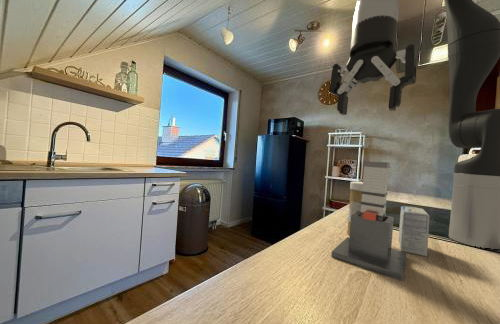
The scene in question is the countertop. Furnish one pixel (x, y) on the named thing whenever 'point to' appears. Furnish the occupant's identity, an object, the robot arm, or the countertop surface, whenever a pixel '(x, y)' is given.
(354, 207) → the sprinkles bottle
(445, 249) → the countertop surface
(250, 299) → the countertop surface
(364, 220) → the stand base
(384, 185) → the column
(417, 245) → the medicine box
